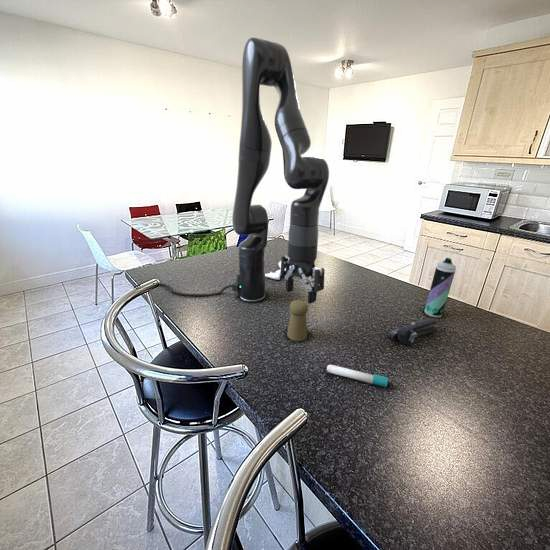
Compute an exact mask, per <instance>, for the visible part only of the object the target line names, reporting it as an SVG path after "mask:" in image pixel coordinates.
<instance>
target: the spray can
mask: <svg viewBox="0 0 550 550" xmlns="http://www.w3.org/2000/svg"><path fill="white" fill-rule="evenodd" d="M456 269H457V266H456V265H454V263H453V261H452V259H451V257H445V259H444V260H443V261H441V262H437V264H436V266H435V270H434V274H433V277H432V281H431V285H430V288H429V292H428V296H427V300H426V304H425V308H424V313H425V314H426V315H427V316H428V317H431V318H442V316H443V313H444V311H445V308H446V303H447V301H448V297H449V294H450V290H451V287H452V285H453V280H454V277H455V274H456V271H457V270H456Z"/></svg>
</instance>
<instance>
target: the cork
mask: <svg viewBox="0 0 550 550" xmlns="http://www.w3.org/2000/svg"><path fill="white" fill-rule="evenodd" d="M289 311H290V318H289V323H288V326H287V333H286V336H287V338H288V339H289V340H290V341H291V340H292V341H295V342H301V341H305V340H306V339H307V338H308V327H307V313H308V311H309V305H308V302H306V301H305V300H302V299H296V300H293V301H292V302H290V304H289Z"/></svg>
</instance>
